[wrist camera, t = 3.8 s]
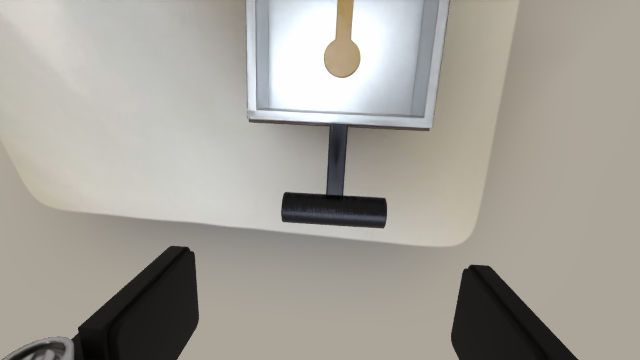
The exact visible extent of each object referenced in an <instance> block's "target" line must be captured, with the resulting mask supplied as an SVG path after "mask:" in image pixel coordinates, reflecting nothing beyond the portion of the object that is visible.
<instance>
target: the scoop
mask: <svg viewBox="0 0 640 360" xmlns="http://www.w3.org/2000/svg"><path fill="white" fill-rule="evenodd" d="M337 1H338V0H245V8H246V65H247V118H248V119H254V120H275V121H295V122H315V123H330V132H329V151H328V170H327V189H326V194H309V193H292V192H285V193H284V195H283V200H282V210H281V216H282V221H283V222H290V223H305V224H321V225H337V226H353V227H369V228H384V227H385V224H386V219H387V203H386V199H385V198H377V197H360V196H343V189H344V174H345V160H346V145H347V130H348V124H356V125H376V126H396V127H417V128H432V127H433V120H434V112H435V105H436V98H437V90H438V83H439V76H440V69H441V62H442V55H443V47H444V40H445V33H446V26H447V19H448V12H449V4H450V0H354V4H353V20H352V35H351V40H352V41H353V42H355V43H356V44H357V46H358V48H359V50H360V53H361V61H360V65H359V67H358V69H357V70H356V71H355V72H354V73H353V74H352V75H351V76H348V77H345V78H338V77H335V76H333V75H332V74H330V73H329V72H328V70H327V69H326V67H325V64H324V52H325V50H326V48H327V46H328V45H329V44H330V43H331V42H332V41H333V40H335V39H336V20H337Z"/></svg>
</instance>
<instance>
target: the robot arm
mask: <svg viewBox="0 0 640 360" xmlns="http://www.w3.org/2000/svg"><path fill="white" fill-rule="evenodd" d="M198 320H199V311H198V298H197V282H196V268H195V255H194V252H192V251H190V249H189V248H188V247H180V246H170V247H169V248H168V249H167V250H165V251H164V252H163V253H162V254H161V255H160V256H159V257H158V258H156V259H155V260H154V261H153V262H152V263H151V264H150V265H148V266H147V267H146V268H145V269H144V270H143V271H142V272H140V273H139V274H138V275H137V276H136V277H135V278H134V279H133V280H131V282H129V283H128V284H127V285H126V286H125V287H124V288H122V289H121V290H120V291H119V292H118V293H117V294H116V295H114V296H113V297H112V298H111V299H110V300H109V301H108V302H107V303H105V304H104V305H103V306H102V307H101V308H100V309H99V310H98V311H96V312H95V313H94V314H93V315H92V316H91V317H90V318H89V319H88V320H86V321H85V322H84V323H83V324H82V325H81V326H79V327H78V331H79V333H78V334H77V335H76V336H75V337H74V338H72V339H71V340H70V339H68V338H66V337H59V336H58V337H48V338H44V339H41V340H37V341H34V342H32V343H29V344H27V345H24V346H23V347H21V348H19V349H17V350H15V351H13V352H12V353H10V354H9V355H7V356H6V357H5V358H3V359H2V360H177V359H178V357H179V355H180V354H181V352H182V350H183V349H184V347H185V345H186V344H187V342H188V341H189V339H190V337H191V336H192V334H193V332H194V331H195V329H196V327H197V324H198ZM451 341H452V345H453V347H454V350H455V352H456V354H457V356H458V358H459V360H578V359H577V358H576V357H575V356H574V355H573V354H572V353H571V352H570V351H569V350H568V348H566V346H565V345H564V344H563V343H562V342H561V341H560V340H559V339H558V338H557V337H556V336H555V335H554V334H553V333H552V332H551V331H550V329H549V328H548V327H547V326H546V325H545V324H544V323H543V322H542V321H541V320H540V319H539V318H538V317H537V316H536V315H535V314H534V313H533V311H532V310H531V309H530V308H529V307H528V306H527V305H526V304H525V303H524V302H523V301H522V300H521V299H520V298H519V297H518V296H517V295H516V293H515V292H514V291H513V290H512V289H511V288H510V287H509V286H508V285H507V284H506V283H505V282H504V281H503V280H502V279H501V278H500V276H498V274H497V273H496V272H495V271H494V270H493V269H492V268H491V267H490V266H483V265H470V266H469V267H468V269H464V271H463V273H462V279H461V284H460V290H459V295H458V300H457V306H456V311H455V316H454V322H453V327H452V333H451Z"/></svg>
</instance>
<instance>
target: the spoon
mask: <svg viewBox="0 0 640 360" xmlns="http://www.w3.org/2000/svg"><path fill="white" fill-rule="evenodd" d="M353 4H354V0H338V1H337V20H336V39H335V40H333V41H332V42H331V43H330V44H329V45H328V46H327V48H326V50H325V52H324V64H325V67H326V69H327V70H328V72H329V73H330V74H332V75H333V76H335V77H338V78H345V77H348V76H351V75H352V74H353V73H354V72H355V71H356V70H357V69H358V67H359V65H360V61H361V53H360V50H359V48H358V46H357V44H356V43H355V42H353V41H352V40H351V35H352V20H353Z"/></svg>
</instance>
